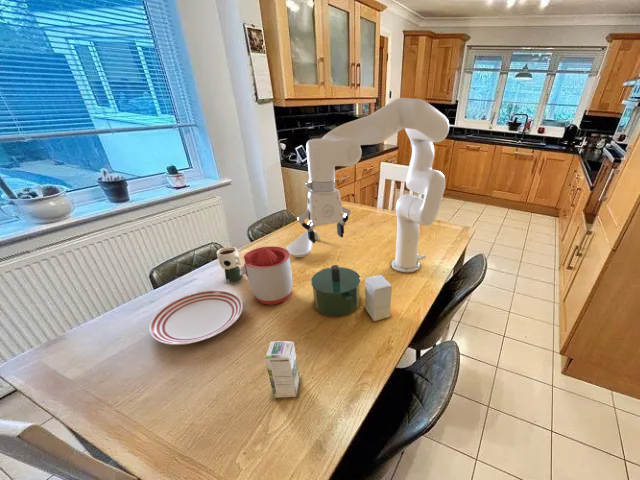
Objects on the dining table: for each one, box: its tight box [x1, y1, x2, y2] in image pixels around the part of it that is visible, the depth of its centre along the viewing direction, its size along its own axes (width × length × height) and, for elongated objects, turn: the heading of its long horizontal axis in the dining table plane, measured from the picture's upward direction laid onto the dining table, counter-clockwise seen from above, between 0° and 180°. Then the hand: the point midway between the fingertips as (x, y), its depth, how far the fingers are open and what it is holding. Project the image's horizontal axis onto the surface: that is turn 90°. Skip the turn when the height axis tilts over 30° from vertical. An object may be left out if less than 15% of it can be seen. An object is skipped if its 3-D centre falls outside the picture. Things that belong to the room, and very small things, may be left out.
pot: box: [312, 267, 361, 317], centre depth 110 cm, size 16×22×10 cm
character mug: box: [216, 246, 244, 283], centre depth 120 cm, size 11×7×13 cm, turn 70°
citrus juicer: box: [240, 245, 293, 305], centre depth 109 cm, size 16×17×20 cm
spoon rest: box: [285, 229, 321, 258], centre depth 146 cm, size 24×12×7 cm, turn 167°
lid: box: [310, 264, 361, 295], centre depth 106 cm, size 17×17×6 cm
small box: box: [364, 274, 393, 322], centre depth 105 cm, size 8×6×13 cm
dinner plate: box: [148, 289, 244, 346], centre depth 101 cm, size 27×27×3 cm
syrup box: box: [264, 340, 300, 399], centre depth 77 cm, size 6×6×14 cm
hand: (326, 238), depth 100 cm, fingers open, 9 cm apart
